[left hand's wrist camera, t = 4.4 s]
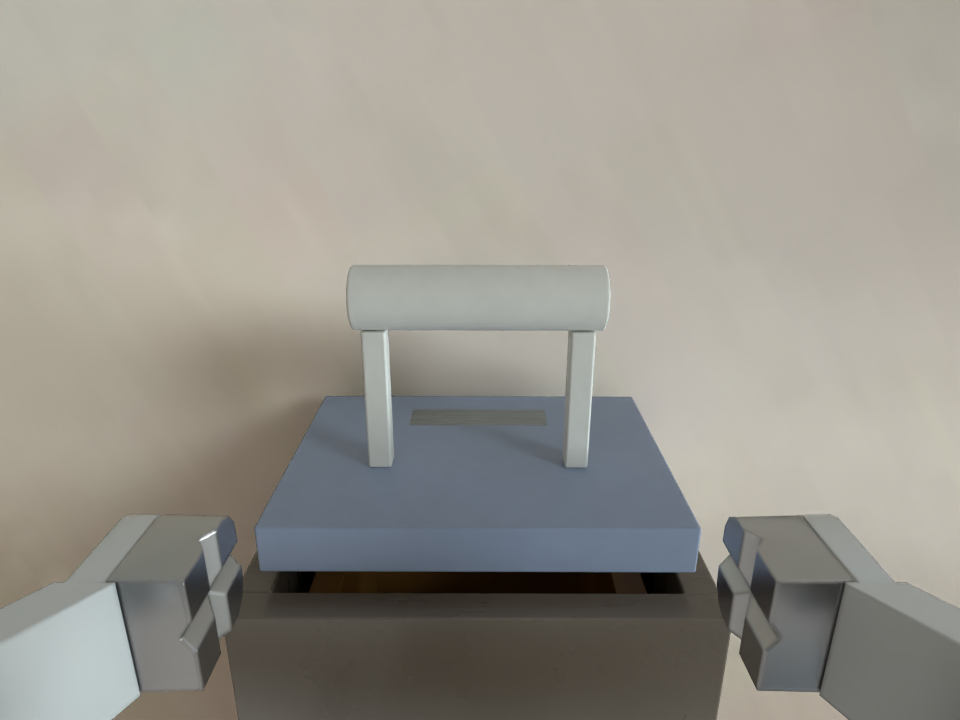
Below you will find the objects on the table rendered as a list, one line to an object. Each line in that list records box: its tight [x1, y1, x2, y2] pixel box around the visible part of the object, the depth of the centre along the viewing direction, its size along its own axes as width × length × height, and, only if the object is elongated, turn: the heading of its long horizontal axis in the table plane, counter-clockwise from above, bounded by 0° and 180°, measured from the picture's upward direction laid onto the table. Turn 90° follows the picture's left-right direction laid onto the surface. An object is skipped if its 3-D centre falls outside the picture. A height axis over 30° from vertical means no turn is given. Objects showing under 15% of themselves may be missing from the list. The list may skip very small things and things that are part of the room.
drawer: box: [254, 265, 701, 594], centre depth 21 cm, size 22×10×8 cm, turn 0°
